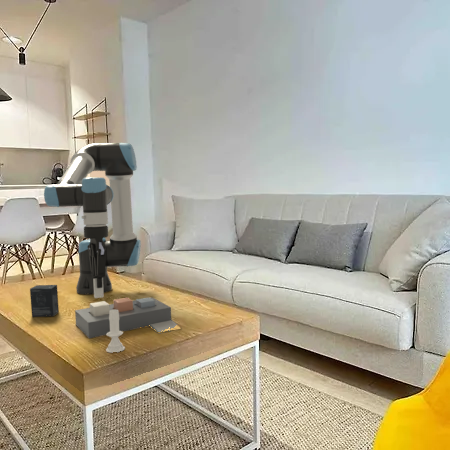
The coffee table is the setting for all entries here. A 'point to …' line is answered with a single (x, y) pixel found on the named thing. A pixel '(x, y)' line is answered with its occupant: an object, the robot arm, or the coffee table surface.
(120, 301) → the terracotta key
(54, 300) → the box
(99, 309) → the ivory key
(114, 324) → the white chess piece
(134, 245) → the robot arm
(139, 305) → the slate key
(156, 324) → the smartphone
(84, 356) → the coffee table surface
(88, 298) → the coffee table surface
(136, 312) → the key panel
